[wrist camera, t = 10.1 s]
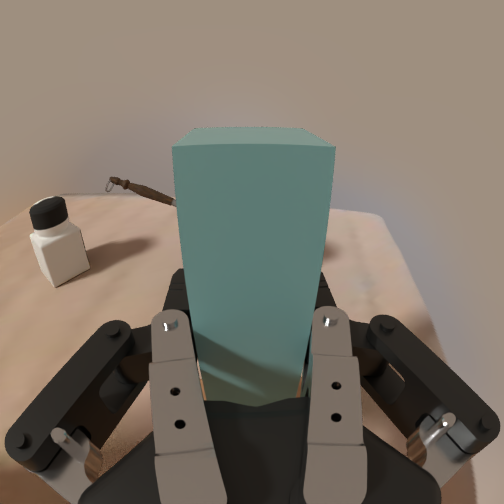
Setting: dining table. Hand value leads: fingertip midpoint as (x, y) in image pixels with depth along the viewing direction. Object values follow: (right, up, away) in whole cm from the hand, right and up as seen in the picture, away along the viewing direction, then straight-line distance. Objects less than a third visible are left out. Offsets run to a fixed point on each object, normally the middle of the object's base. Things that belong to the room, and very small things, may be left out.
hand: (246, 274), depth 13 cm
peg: (0, -8, +1) cm, 8 cm away
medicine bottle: (-30, -2, +28) cm, 41 cm away
